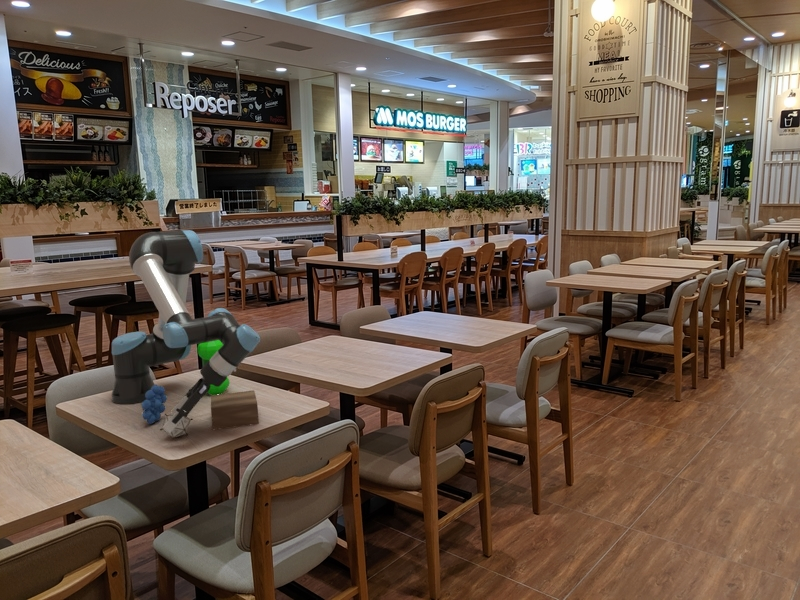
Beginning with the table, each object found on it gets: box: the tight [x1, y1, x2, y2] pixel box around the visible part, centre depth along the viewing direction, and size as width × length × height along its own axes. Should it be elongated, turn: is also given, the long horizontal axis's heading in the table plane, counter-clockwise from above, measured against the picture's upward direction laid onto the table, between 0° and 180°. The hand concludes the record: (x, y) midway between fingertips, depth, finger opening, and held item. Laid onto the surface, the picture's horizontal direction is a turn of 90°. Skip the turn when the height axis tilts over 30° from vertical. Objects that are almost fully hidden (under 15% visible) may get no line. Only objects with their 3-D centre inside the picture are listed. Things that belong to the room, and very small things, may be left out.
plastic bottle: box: [197, 340, 230, 396], centre depth 223 cm, size 10×10×25 cm
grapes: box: [141, 384, 168, 425], centre depth 197 cm, size 12×7×12 cm, turn 167°
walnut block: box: [210, 389, 260, 430], centre depth 197 cm, size 14×14×7 cm
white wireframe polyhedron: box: [159, 412, 194, 441], centre depth 184 cm, size 9×8×10 cm
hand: (170, 421), depth 183 cm, fingers open, 13 cm apart
